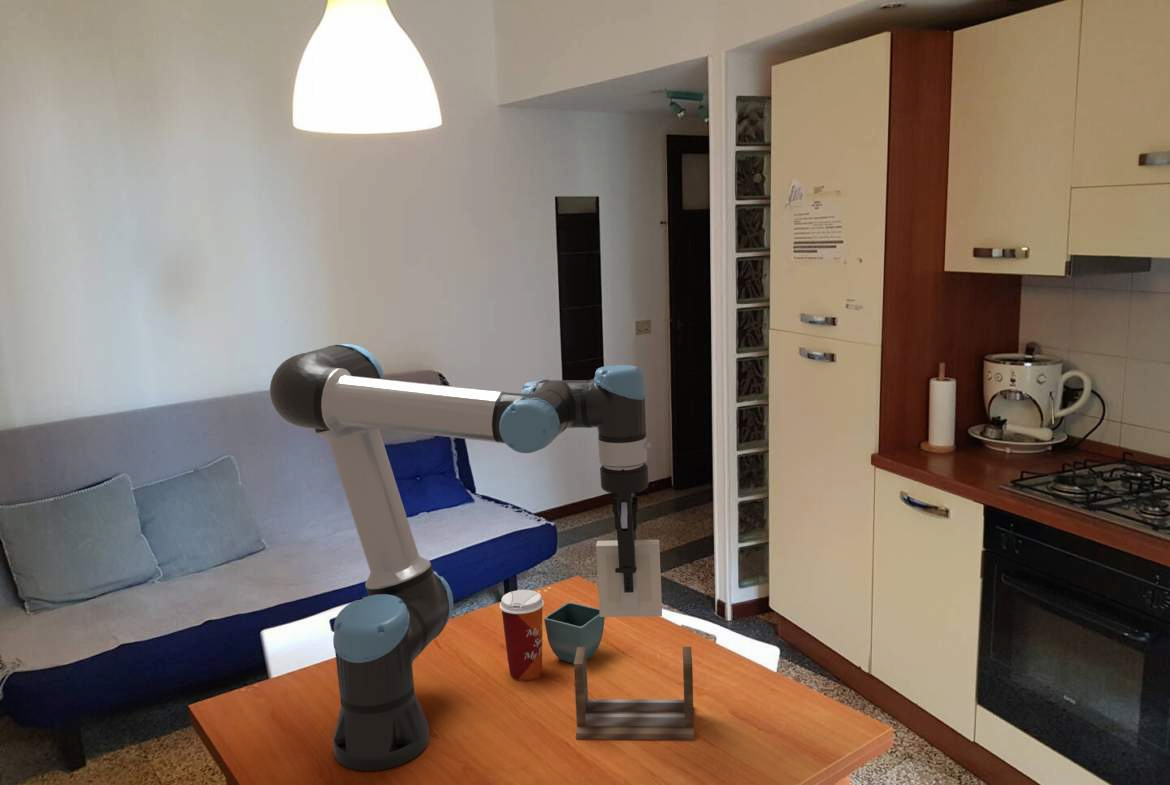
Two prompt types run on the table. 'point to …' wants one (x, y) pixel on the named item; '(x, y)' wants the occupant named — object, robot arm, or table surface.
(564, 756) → the table surface
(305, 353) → the robot arm
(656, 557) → the door panel
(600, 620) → the flower pot
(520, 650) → the coffee cup
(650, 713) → the track
